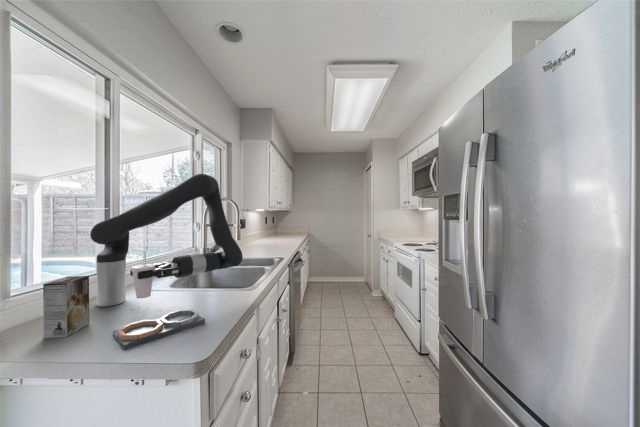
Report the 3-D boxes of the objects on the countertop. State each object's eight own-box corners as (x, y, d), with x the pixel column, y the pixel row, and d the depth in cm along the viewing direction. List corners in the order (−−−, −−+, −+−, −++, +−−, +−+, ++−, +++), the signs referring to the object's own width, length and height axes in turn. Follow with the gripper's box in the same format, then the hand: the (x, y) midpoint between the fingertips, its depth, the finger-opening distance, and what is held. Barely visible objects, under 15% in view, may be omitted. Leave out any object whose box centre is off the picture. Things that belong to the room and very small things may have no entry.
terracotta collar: (114, 331, 76) (114, 327, 76) (154, 320, 84) (154, 316, 84) (124, 343, 69) (124, 339, 69) (167, 329, 77) (167, 325, 77)
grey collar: (156, 320, 84) (156, 316, 84) (189, 310, 93) (189, 307, 93) (169, 329, 78) (169, 325, 78) (203, 318, 86) (203, 314, 86)
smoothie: (143, 300, 78) (143, 254, 78) (125, 299, 79) (125, 253, 79) (160, 293, 84) (159, 251, 84) (143, 292, 85) (143, 250, 85)
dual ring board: (112, 336, 76) (112, 331, 76) (189, 314, 93) (189, 310, 93) (124, 350, 69) (124, 344, 69) (205, 323, 86) (205, 318, 86)
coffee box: (67, 325, 84) (67, 276, 84) (89, 324, 85) (90, 275, 85) (42, 339, 75) (42, 283, 75) (67, 337, 76) (67, 282, 76)
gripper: (180, 252, 97) (126, 259, 84) (199, 256, 88) (142, 265, 75) (180, 272, 97) (126, 282, 84) (199, 278, 88) (142, 290, 75)
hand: (134, 274), depth 80 cm, fingers closed on smoothie, 6 cm apart
